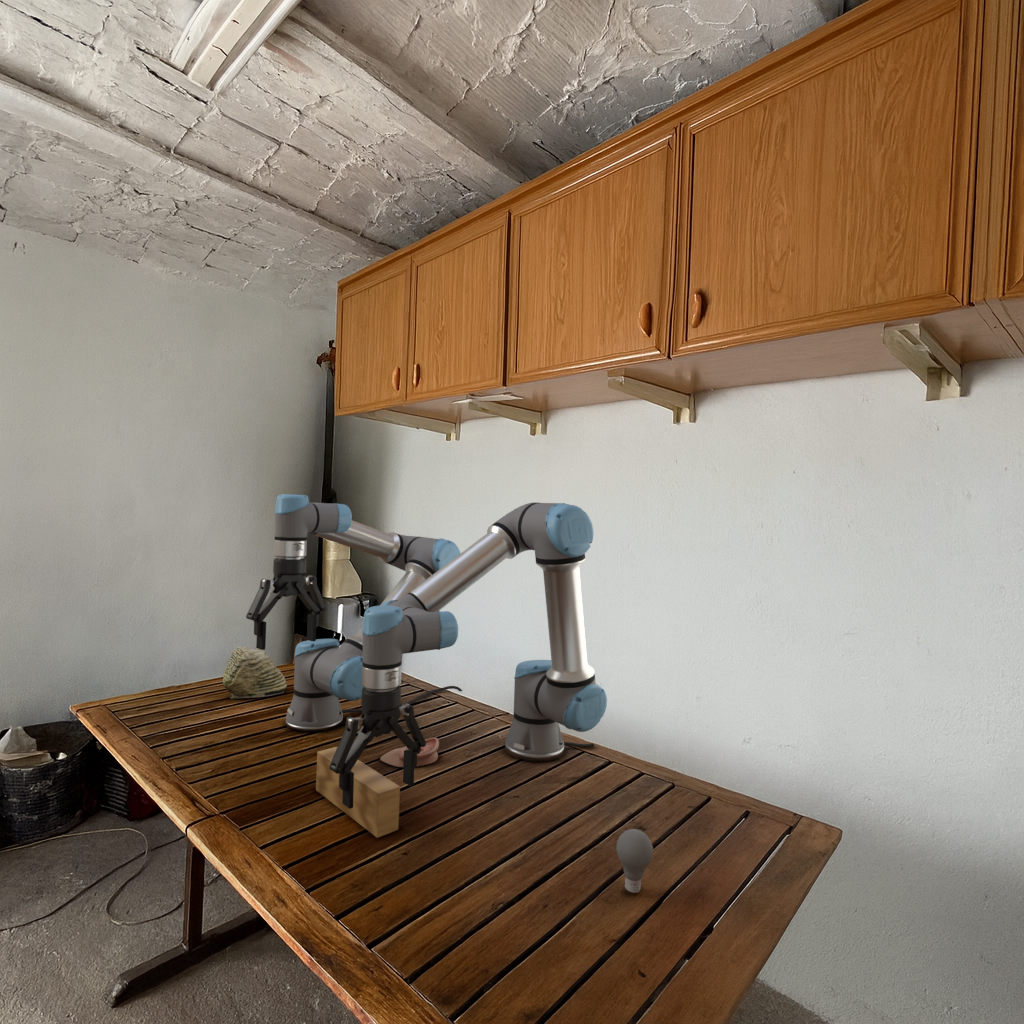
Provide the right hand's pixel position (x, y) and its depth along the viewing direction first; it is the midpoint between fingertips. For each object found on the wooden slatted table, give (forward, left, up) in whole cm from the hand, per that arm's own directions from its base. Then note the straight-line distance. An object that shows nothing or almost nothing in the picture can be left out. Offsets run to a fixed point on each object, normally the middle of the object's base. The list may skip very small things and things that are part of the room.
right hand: (379, 794), depth 124 cm
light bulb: (-33, +37, -6) cm, 50 cm away
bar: (+3, -8, -6) cm, 10 cm away
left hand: (+12, -41, +21) cm, 48 cm away
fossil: (+14, -91, -6) cm, 92 cm away
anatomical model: (-15, -27, -6) cm, 32 cm away
